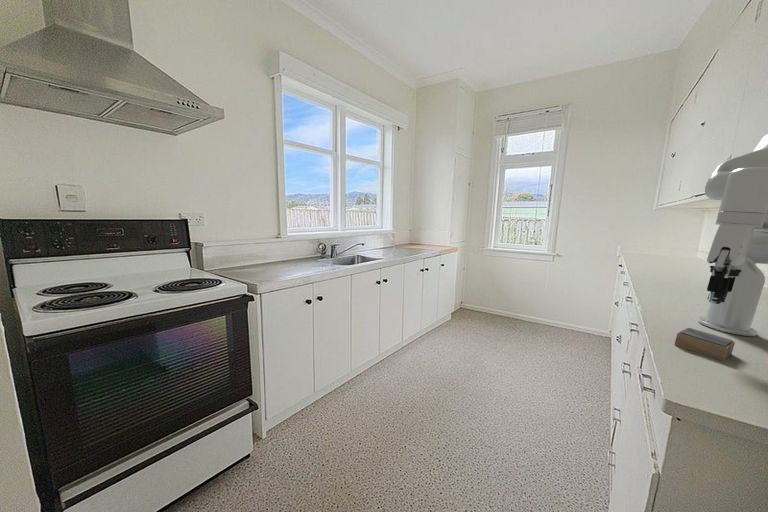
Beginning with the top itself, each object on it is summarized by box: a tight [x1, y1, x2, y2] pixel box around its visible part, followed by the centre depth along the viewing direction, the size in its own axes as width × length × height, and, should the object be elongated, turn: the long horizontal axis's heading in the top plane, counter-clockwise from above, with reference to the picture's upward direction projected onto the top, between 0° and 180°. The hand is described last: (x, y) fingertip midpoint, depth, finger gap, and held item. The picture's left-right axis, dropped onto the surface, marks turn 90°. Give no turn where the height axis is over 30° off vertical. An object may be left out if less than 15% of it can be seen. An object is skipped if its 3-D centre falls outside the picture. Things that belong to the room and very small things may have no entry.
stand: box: [674, 327, 736, 362], centre depth 78 cm, size 8×9×4 cm
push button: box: [706, 263, 742, 304], centre depth 75 cm, size 7×5×10 cm
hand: (719, 290), depth 75 cm, fingers closed on push button, 4 cm apart
